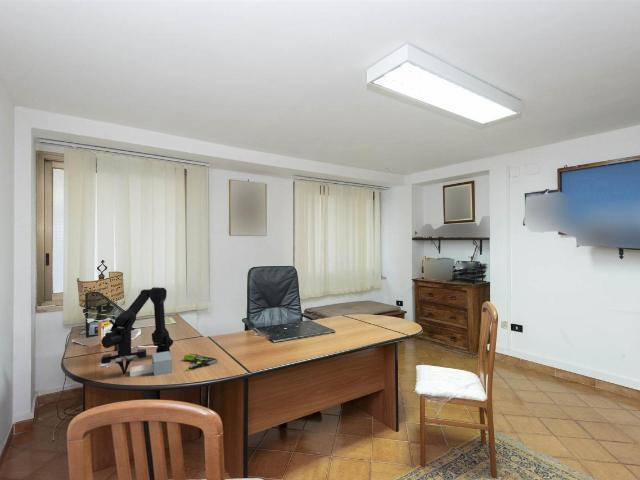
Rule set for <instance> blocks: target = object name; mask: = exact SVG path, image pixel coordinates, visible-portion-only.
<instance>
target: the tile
mask: <svg viewBox="0 0 640 480" xmlns="http://www.w3.org/2000/svg"><path fill="white" fill-rule="evenodd" d="M151 373H154V363H153V364H152V363H147V364H143V365H136V366H130V367H129V377H134V376H140V375H146V374H151Z"/></svg>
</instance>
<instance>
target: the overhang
mask: <svg viewBox="0 0 640 480" xmlns="http://www.w3.org/2000/svg"><path fill="white" fill-rule="evenodd" d="M151 354H152V355H151V364H153V363H154V372H153V376H159V375H164V374H169V373H173V358H172V356H171V352H170V353H169V351H166V352H160V353H156V352H154V353H151Z"/></svg>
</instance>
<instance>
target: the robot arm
mask: <svg viewBox="0 0 640 480" xmlns="http://www.w3.org/2000/svg"><path fill="white" fill-rule="evenodd" d="M149 299H150V301H151V302H152V304H153V313H154V326H155V327H154V328H155V329H154V331H153V332H152V333H151V341H152V343H153V345H154V347H156V348H155V353H160V352H166V351H169V353H170V354H171V349H170V348H171V347H172V345H174V340H173V339H172V338H171V337H170V333H169V330H168V329H167V327H166V320H165V319H166V317H165V301H166V299H167V289H166V288H165V287H158V286H157V287H154V286H153V287H152V288H148V289H142V290H140V293H139V294H138V296H137V297H136V298H135V300H134V301H133V302H132V303H131V304H130V306H128V308H127V309H126V310H124V311H123V312H120V313H119V314H118V316H117V317H116V318H115V319H114V322H113V323H112V326H111V328H110V330H109V332H108V331H107V332H105V334H104V336H103V337H102V339H101V345H102V347H103V348H104V349H110V348H113V347H114V352H117V354H114V355H112V353H105V354H102V355H101V357H100V364H102V365H104V364H109V363H111V362H112V360H113V361H114V360H115V364H117V365H118V366H119V367H120V369H121V372H122V374H123V375H125V374H126V373H127V370H128V368H129V365H130V364H131V362H133V361H134V357H136V358H138V359H143V358H147V349H146V348H140V349H137V350H136V351H135V352H133V351H132V331H135V330H136V328H134V326H133V325H134V324H135V322H136V320H137V315H138V314H139V312H140V311H141V309H142V308H143V307H144V306H145V304H146V303H147V302H148V301H149ZM124 359H125V364H124Z"/></svg>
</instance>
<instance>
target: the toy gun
mask: <svg viewBox="0 0 640 480" xmlns="http://www.w3.org/2000/svg"><path fill="white" fill-rule="evenodd" d="M183 360H188V361H192V363H193V364H191V365H189V366H188V367H187V369H186V371H189V372H190V371H193V370H197V369H199V368H203V367H204V368H205V367H209V366H213V365H216V364H218V359H216V358H214V357H211V356H209V355H208V356H207V355H201V354H198V353H189V354H188V353H187V354H185V355H184V356H183Z"/></svg>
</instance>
